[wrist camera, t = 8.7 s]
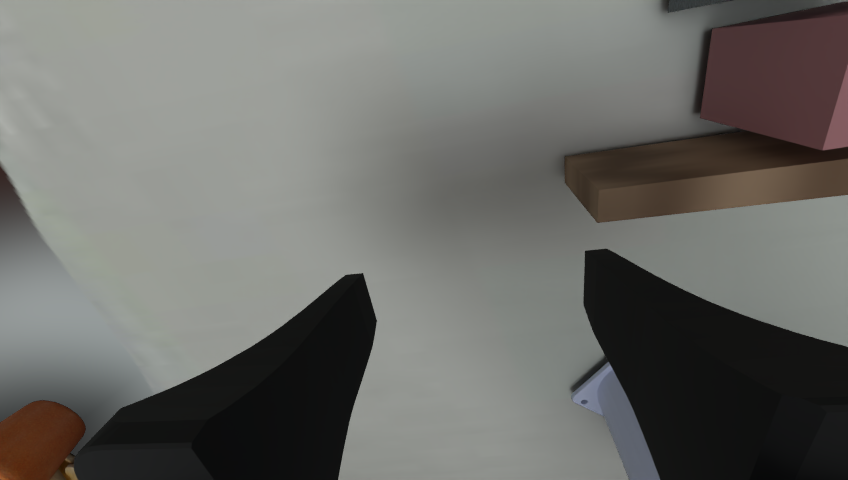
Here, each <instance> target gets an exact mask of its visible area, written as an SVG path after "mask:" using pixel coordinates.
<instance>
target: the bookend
mask: <svg viewBox="0 0 848 480" xmlns="http://www.w3.org/2000/svg"><path fill="white" fill-rule="evenodd" d="M726 1H731V0H669V7H668V13H669V12H674V11H679V10H684V9H690V8H695V7H700V6H705V5H710V4H715V3H721V2H726Z"/></svg>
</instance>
